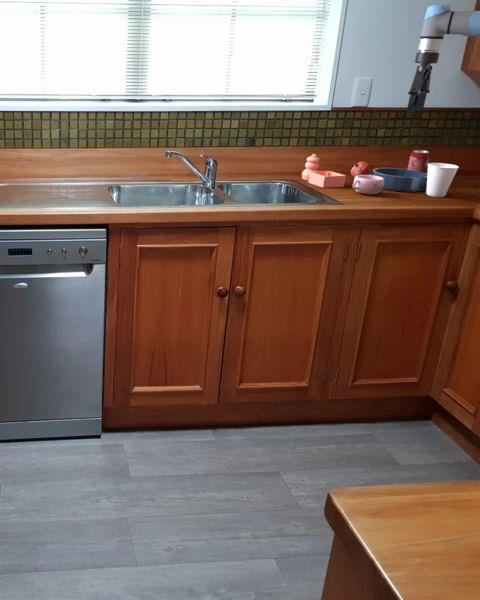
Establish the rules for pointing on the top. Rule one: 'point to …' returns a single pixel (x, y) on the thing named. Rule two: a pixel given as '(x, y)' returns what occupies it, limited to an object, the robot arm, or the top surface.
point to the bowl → (402, 179)
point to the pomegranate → (360, 169)
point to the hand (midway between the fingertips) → (414, 112)
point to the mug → (368, 184)
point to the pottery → (321, 175)
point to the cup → (439, 178)
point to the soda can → (418, 161)
